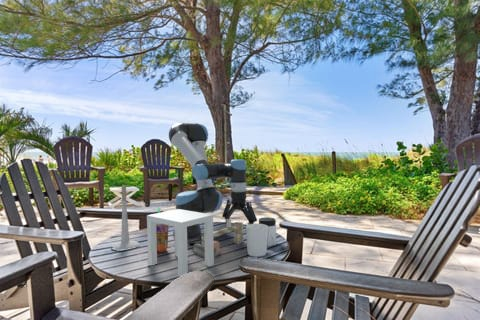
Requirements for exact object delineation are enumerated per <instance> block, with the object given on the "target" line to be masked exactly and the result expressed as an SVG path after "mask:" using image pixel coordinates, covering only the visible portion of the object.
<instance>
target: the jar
mask: <svg viewBox="0 0 480 320" xmlns="http://www.w3.org/2000/svg"><path fill="white" fill-rule="evenodd" d="M276 223H277V220H276V218H274V217H269V216H268V217H267V216H266V217H265V216H264V217H261V218H258V224H265V225H267V226H268V234H267V247H273V246H276V245H277V225H276Z"/></svg>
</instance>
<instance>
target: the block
mask: <svg viewBox="0 0 480 320" xmlns="http://www.w3.org/2000/svg"><path fill="white" fill-rule="evenodd" d="M213 243H214V248H216V251H217V255H218V254H220V253H221V252H220V250H221V249H220V241H217V240H213Z"/></svg>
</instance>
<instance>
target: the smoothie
mask: <svg viewBox="0 0 480 320" xmlns="http://www.w3.org/2000/svg"><path fill="white" fill-rule="evenodd" d="M157 209H158V211H157V213H161V210H160V209H161V207H158V208H157ZM169 226H170V225H165V224H161V223H157V222H156V237H157V254H163V253H162V252H164V253H166V252H167V250H168V247H169V245H168V244H169ZM165 251H166V252H165Z"/></svg>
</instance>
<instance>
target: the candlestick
mask: <svg viewBox="0 0 480 320" xmlns="http://www.w3.org/2000/svg"><path fill="white" fill-rule="evenodd" d="M128 200H129V199H128V198H127V185H125V184H122V185H121V199H120V201H121V205H122V207H121V232H120V233H121V236H120V241H117V242H115V243H113V245H111V246H112V247H113V248H115V249H128V248H133V247H137V246H138V245H139V244H140V243H139V242H138V241H136V240H130V233H129V223H128V222H129V221H128V207H127V204H128Z"/></svg>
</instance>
